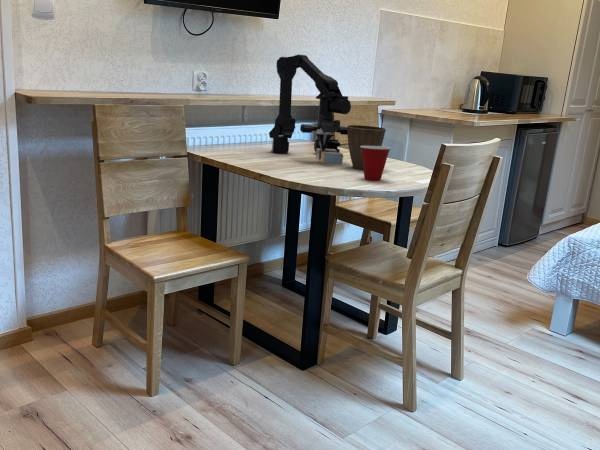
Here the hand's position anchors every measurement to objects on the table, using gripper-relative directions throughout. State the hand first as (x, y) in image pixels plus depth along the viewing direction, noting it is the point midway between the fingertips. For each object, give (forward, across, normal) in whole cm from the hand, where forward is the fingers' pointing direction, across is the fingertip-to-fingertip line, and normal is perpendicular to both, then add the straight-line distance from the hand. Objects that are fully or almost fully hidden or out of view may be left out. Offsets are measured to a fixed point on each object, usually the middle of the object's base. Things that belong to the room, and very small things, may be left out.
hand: (322, 151), depth 237 cm
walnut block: (+3, 0, +9) cm, 9 cm away
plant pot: (+5, +14, -10) cm, 18 cm away
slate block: (+3, 0, 0) cm, 3 cm away
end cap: (+5, +7, +21) cm, 23 cm away
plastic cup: (+5, +11, -32) cm, 34 cm away
